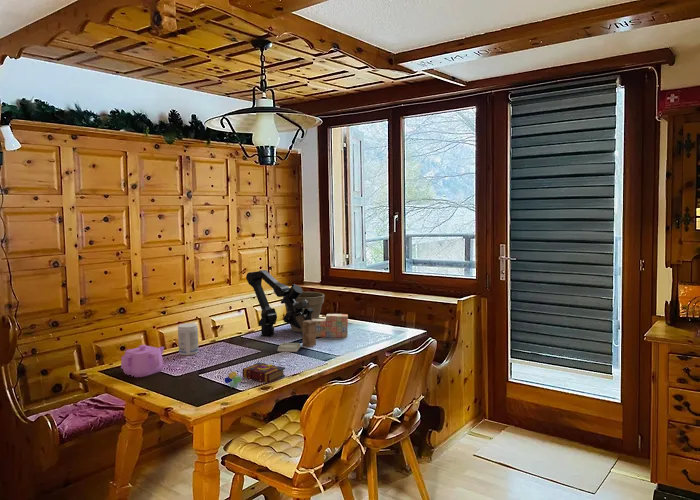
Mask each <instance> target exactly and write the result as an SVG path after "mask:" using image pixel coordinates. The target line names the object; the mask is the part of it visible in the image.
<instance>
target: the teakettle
mask: <svg viewBox="0 0 700 500" xmlns="http://www.w3.org/2000/svg"><path fill="white" fill-rule="evenodd" d="M164 349H165V346H159V347H156V346H152V345H147V344H140V345H139V346H138V347H136V348H135V347H134V348H132V349H131V348H129V349H125V351H124V355H121V359H120V360H121V361H120V363H121V365H120V369H122V370H123V371H122V372H123V374H124V373H125V374H124V375H126V374H127V375H126V376H129V375H131V376H130V377H133V376H134V377H133V378H138V377H140V378H143V377H148V376H151V375H154V374H157V373H159V372H162V371H163V368H164V359H163V354H164Z"/></svg>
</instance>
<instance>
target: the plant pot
mask: <svg viewBox="0 0 700 500" xmlns="http://www.w3.org/2000/svg"><path fill="white" fill-rule="evenodd" d="M284 297H285V296H284ZM284 297H282V299H283V298H284ZM294 300H295V301H296V303H299V302H302V301H304V300H307V301H308V303H309V305H307V307H305V308H304V310H305V309H306V308H312V309H313V312H312V314H311V319H320V315H321V312H322V306H323V304H324V302H325V294H324V293H322V292H317V291H316V292H315V291H302V293H301V294H300V296H299V297H298V298H297V299H294ZM283 304H284V306H285V310H286V313H288V312H290V311H287V309H288V308H287V306H286V305H285V303H283ZM304 310H302V312H304ZM296 320H297V321H298V323H299V325H300V327H301V329H298V328H297V327H295V326H293V325H291V324H289V326H290V329H291V331H293V332H296V333H303V321H305V320H304V318H303V317H302V316H298V317H296Z"/></svg>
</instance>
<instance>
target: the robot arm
mask: <svg viewBox="0 0 700 500" xmlns="http://www.w3.org/2000/svg"><path fill="white" fill-rule="evenodd" d="M245 278H246V281H247V283H248V284H249V286H251V287H252V289H253V291H254V294H255V295H256V296H255V297H256V299H257V301H258V303H259V306H260V310H261V312H260V313H261V314H260V317H261V318H260V320H259V321H258V326H260V328H261V335H260V337H265V338H266V337H273V336H274V335H275V327H274V325H277V324H276V323H277V319H278V313H277V312H276V309H275V308H272V307H271V306H270V304H269V301H268V298H267V296H266V293H265V291H264V289H263V286H262V282H263V281H264V282H265V283H267V285H268V286H269V287H271V289H273V293H274V294H275V295H276V297H277V298H281V299H280V300H281V301H280V305H283V304H284V303H285V304H284V306H285V305H286V306H287V308H288V309H287V311H290V312H288V313H287V311H286V313H285V315H284V316H283V317H282V320H283V322H284V324H285V323H286V324H289V325H290V324H291V325H293V326H295V327H297V328H298V329H301V327H300V325H299V323H298V321H297V320H296V317H298V316H302V317H303V318H304V320H305V321H306V320H312V319H311V314H312V312H313V309H312V308H306V309H305V310H304V308H305V307H307V305H309V303H308V301H307V300H304V301H302V302H299V303H296V301H295V300H294V299H297V298H298V297H299V296H300V294H301V293H302V292H304V290H303V288H302V287H300V285H297V284H296V283H293V284H291V286H290V287H289V286H288V285H287V284H285V283H282V282H280V281H278V280H277V279H276V278H275V277H274V276H272V275H271V274H270V272H269V271H267V270H266V269H262V270H261V269H260V270H258V271H249V272H247V273H246V276H245ZM284 296H285V297H284ZM283 297H284V298H283ZM286 306H285V307H286ZM302 310H304V312H302Z"/></svg>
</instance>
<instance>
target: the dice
mask: <svg viewBox="0 0 700 500" xmlns="http://www.w3.org/2000/svg"><path fill="white" fill-rule="evenodd" d="M241 382H242V377H241V375H238V373H237V372H236V371H231V372H230V373H228V376H226V377H225V378H224V383H225V384H229V387H230V388H232V387H234V388H237V387H238V384H239V383H241ZM236 386H237V387H236Z"/></svg>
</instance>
